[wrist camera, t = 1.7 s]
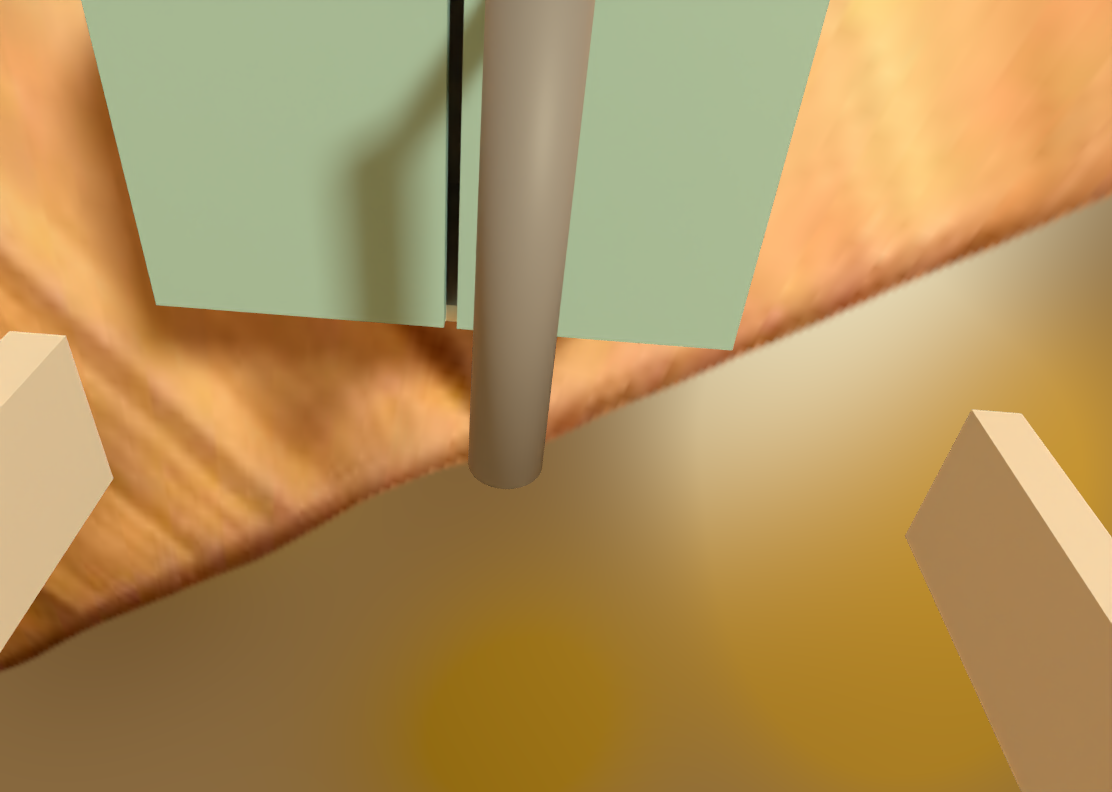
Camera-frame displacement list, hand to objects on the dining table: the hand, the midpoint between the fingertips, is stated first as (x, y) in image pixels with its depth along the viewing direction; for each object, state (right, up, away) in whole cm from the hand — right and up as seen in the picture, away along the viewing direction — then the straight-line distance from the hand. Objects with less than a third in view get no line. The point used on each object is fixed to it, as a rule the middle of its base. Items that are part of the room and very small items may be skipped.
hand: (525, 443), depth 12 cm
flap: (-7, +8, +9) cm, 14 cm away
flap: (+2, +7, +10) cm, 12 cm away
